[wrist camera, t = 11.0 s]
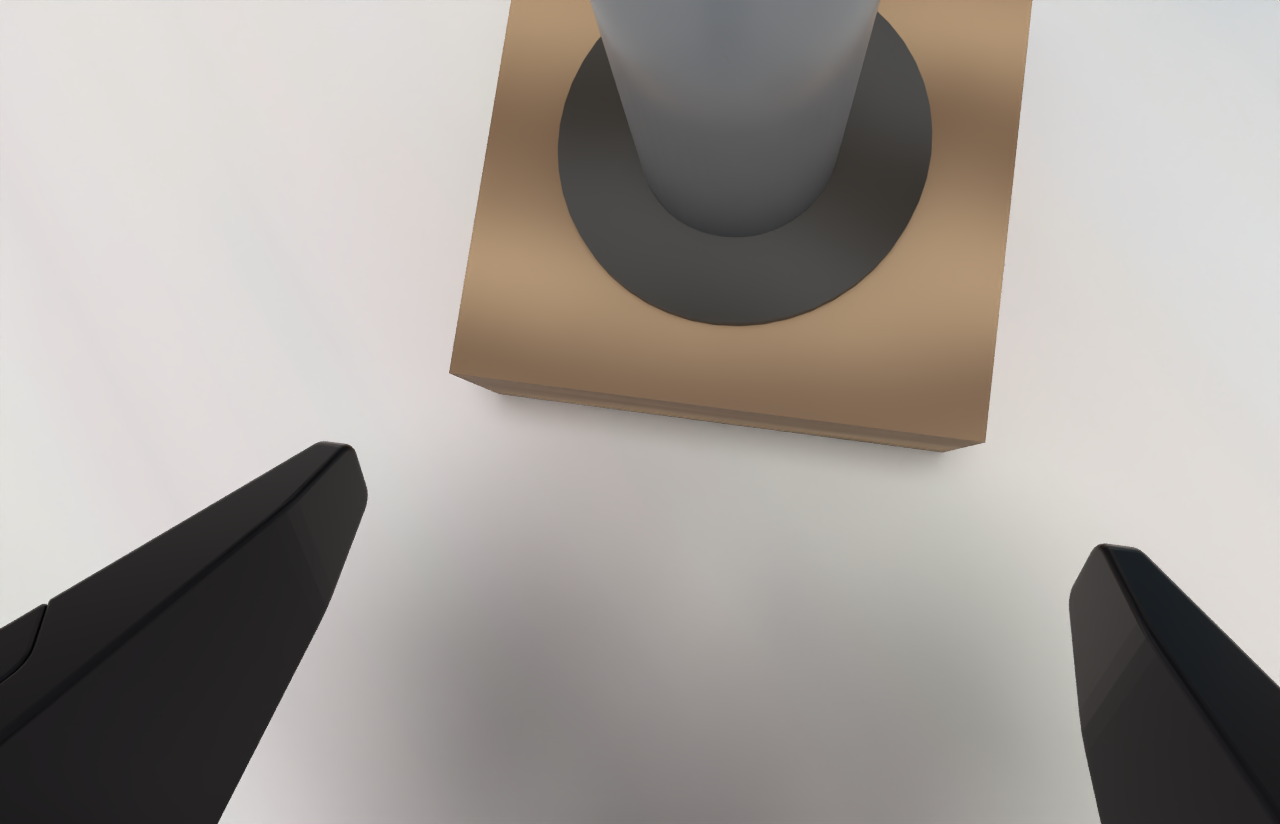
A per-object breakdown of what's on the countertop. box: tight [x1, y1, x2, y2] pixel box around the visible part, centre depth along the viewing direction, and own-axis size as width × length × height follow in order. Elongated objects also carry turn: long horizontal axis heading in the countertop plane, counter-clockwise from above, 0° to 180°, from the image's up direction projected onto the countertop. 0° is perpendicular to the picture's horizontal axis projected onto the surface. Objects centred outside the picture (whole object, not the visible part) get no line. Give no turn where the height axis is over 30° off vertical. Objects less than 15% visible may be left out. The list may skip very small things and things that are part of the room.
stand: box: [449, 0, 1032, 452], centre depth 22 cm, size 13×13×4 cm
